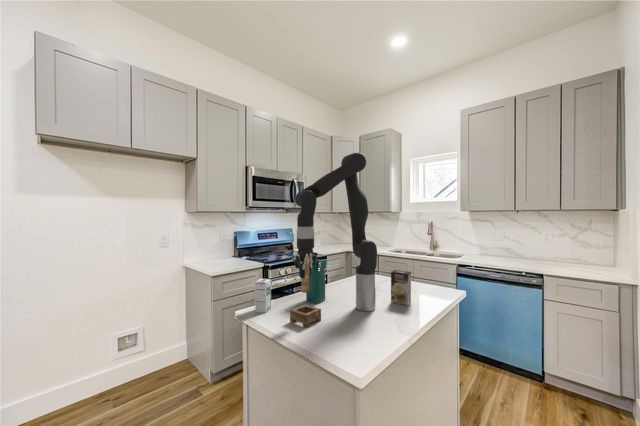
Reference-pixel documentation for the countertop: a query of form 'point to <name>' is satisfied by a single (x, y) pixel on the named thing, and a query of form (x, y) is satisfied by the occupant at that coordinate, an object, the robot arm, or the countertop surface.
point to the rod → (305, 280)
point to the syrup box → (262, 295)
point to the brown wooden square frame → (305, 315)
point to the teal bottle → (317, 282)
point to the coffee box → (401, 287)
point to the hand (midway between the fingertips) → (305, 277)
